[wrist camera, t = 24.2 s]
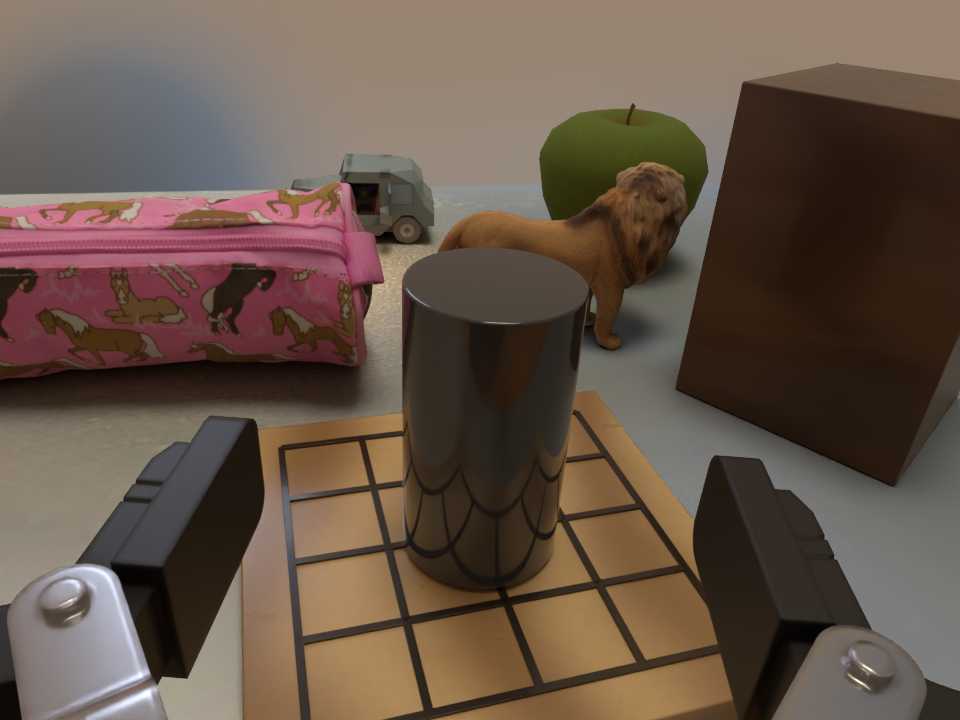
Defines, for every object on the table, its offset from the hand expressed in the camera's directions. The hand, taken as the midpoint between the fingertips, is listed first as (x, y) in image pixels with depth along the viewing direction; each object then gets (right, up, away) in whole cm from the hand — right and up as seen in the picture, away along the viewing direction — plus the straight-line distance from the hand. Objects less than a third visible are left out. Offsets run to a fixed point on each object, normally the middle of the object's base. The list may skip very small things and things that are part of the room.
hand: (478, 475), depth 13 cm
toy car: (-8, +10, +37) cm, 39 cm away
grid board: (0, -5, +12) cm, 13 cm away
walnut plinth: (+16, 0, +23) cm, 28 cm away
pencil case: (-15, +2, +21) cm, 26 cm away
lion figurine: (+3, +3, +27) cm, 27 cm away
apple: (+9, +9, +37) cm, 39 cm away
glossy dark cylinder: (0, -4, +11) cm, 12 cm away
